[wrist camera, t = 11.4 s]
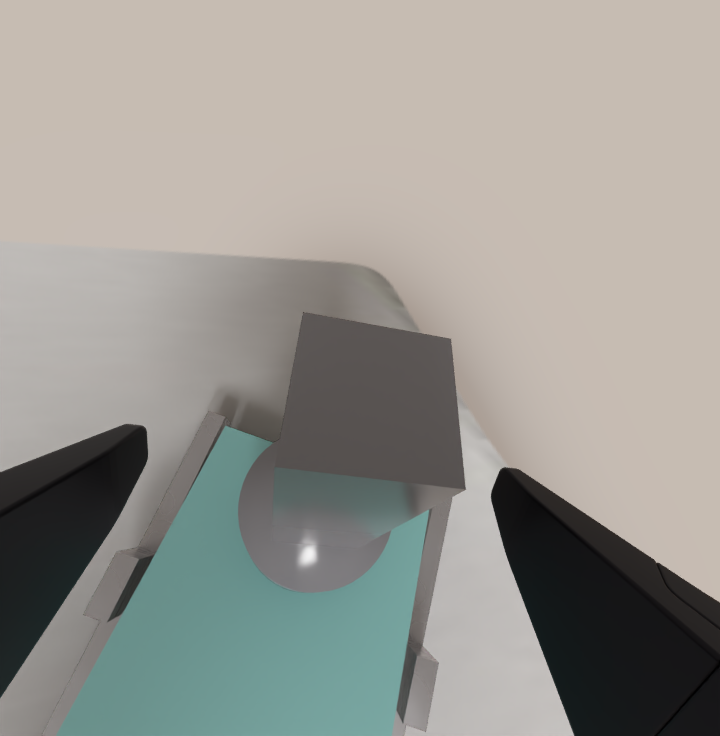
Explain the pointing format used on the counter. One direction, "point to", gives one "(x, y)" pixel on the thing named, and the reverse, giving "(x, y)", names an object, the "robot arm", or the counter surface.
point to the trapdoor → (249, 633)
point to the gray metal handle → (352, 452)
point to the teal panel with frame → (135, 561)
